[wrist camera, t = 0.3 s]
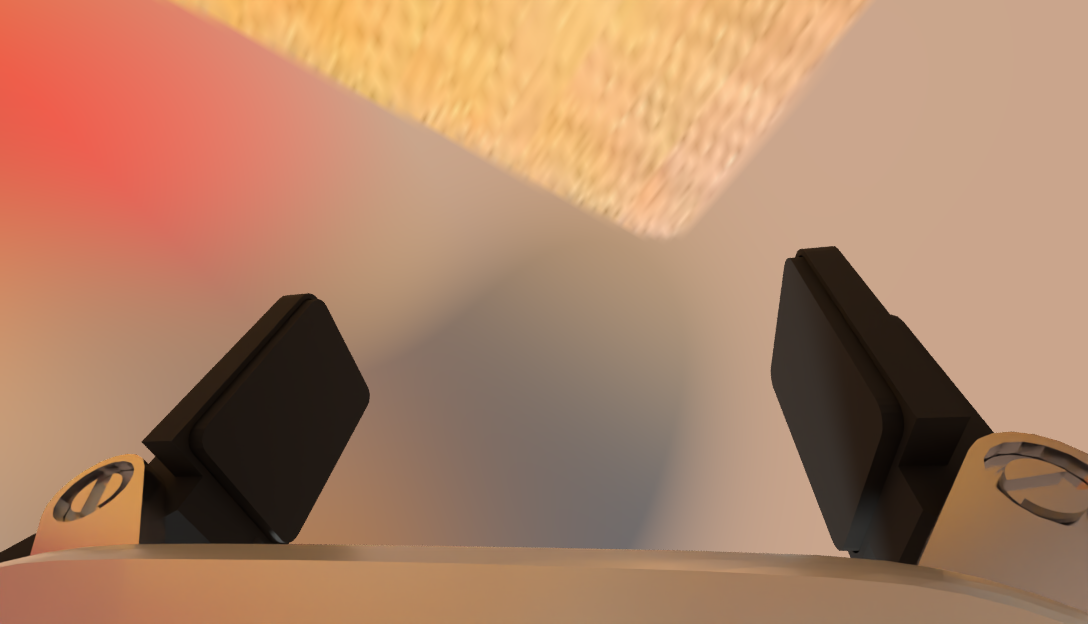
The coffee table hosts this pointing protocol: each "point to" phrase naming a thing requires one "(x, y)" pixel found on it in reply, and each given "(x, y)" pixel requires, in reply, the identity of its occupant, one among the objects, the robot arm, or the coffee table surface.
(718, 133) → the coffee table surface
